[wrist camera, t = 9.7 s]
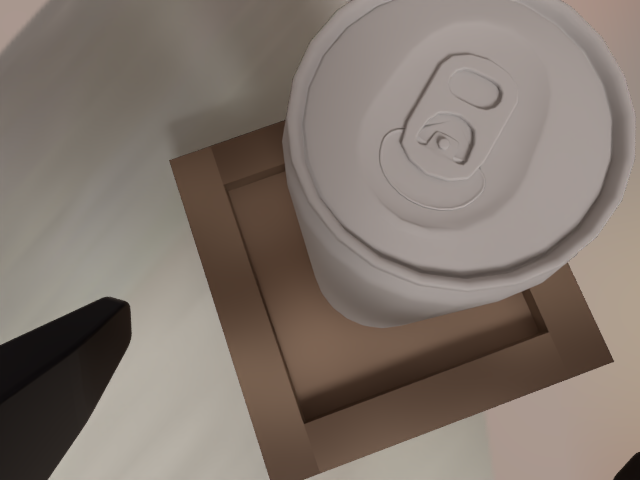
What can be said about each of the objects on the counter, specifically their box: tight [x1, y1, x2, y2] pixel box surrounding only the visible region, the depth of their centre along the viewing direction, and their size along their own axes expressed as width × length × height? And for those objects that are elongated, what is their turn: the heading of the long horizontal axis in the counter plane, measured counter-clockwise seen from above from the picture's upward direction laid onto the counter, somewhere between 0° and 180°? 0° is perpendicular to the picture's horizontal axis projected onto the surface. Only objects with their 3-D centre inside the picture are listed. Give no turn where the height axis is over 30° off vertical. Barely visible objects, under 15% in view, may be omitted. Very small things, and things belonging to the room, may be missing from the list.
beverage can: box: [282, 0, 636, 328], centre depth 12 cm, size 5×5×12 cm
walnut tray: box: [169, 120, 614, 480], centre depth 18 cm, size 12×12×2 cm
